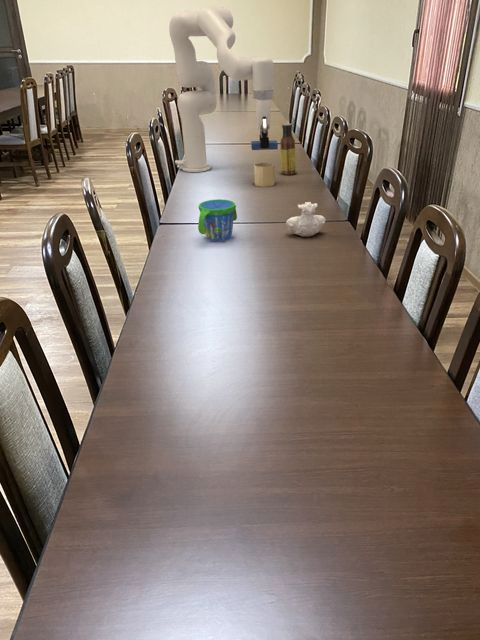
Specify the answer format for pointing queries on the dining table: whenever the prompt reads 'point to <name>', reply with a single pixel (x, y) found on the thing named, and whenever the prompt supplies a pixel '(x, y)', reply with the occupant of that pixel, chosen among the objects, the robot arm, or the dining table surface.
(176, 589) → the dining table surface
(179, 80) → the robot arm
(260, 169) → the beige cup
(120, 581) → the dining table surface
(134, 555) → the dining table surface
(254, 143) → the block
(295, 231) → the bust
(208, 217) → the snack cup
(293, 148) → the sauce bottle
